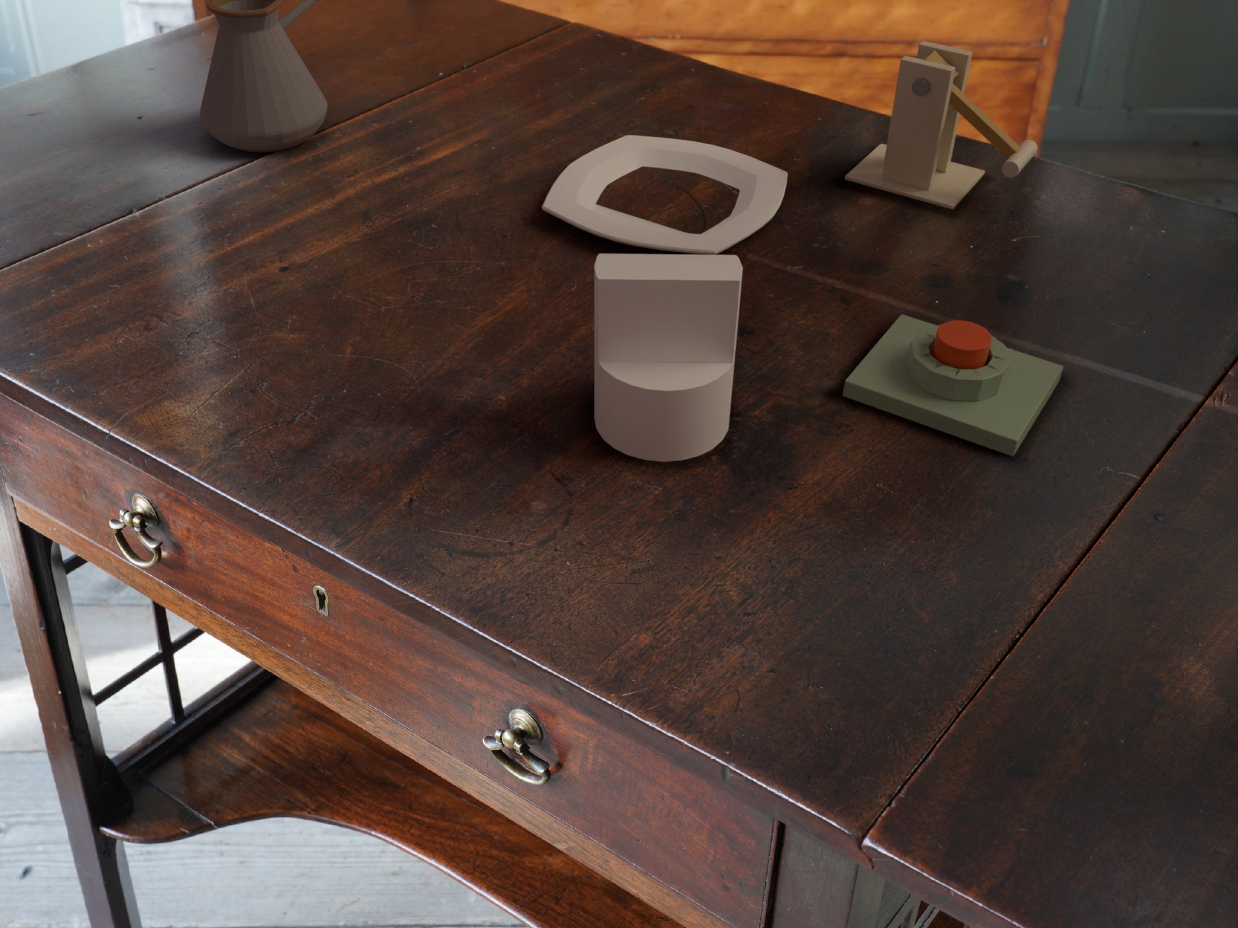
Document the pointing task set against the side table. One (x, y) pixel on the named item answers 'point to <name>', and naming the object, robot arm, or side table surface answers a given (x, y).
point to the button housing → (954, 387)
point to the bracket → (922, 133)
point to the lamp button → (962, 345)
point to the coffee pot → (259, 79)
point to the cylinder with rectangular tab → (664, 351)
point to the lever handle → (989, 128)
